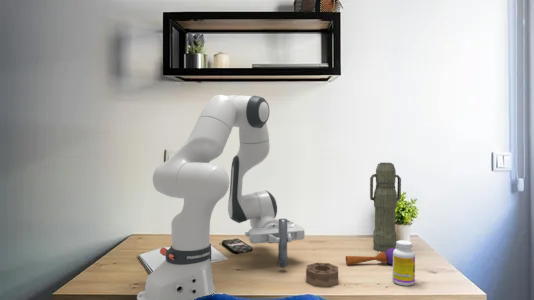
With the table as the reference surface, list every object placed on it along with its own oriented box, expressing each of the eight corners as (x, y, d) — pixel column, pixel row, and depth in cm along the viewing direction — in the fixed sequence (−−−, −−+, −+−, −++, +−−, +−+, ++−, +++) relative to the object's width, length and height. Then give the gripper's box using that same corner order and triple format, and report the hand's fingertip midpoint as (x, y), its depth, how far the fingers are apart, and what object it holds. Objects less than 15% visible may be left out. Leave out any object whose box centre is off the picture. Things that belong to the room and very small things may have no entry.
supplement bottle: (416, 287, 118) (417, 246, 117) (393, 285, 119) (394, 244, 119) (412, 279, 125) (413, 239, 124) (391, 277, 126) (391, 238, 125)
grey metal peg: (281, 268, 129) (282, 220, 129) (276, 265, 132) (276, 219, 131) (288, 266, 131) (289, 219, 131) (283, 263, 134) (283, 218, 133)
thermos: (403, 252, 151) (404, 163, 150) (373, 252, 151) (374, 164, 149) (395, 245, 160) (396, 162, 158) (367, 246, 160) (368, 162, 158)
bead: (321, 289, 116) (321, 276, 116) (300, 279, 125) (300, 266, 124) (344, 281, 122) (344, 269, 122) (322, 272, 130) (322, 260, 130)
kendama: (343, 251, 141) (397, 246, 142) (345, 267, 140) (399, 263, 141) (347, 253, 135) (403, 248, 136) (349, 270, 135) (405, 265, 135)
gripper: (243, 224, 140) (254, 233, 127) (295, 220, 146) (311, 229, 133) (243, 241, 140) (254, 252, 127) (295, 236, 147) (310, 247, 134)
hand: (283, 240), depth 130 cm, fingers closed on grey metal peg, 3 cm apart
